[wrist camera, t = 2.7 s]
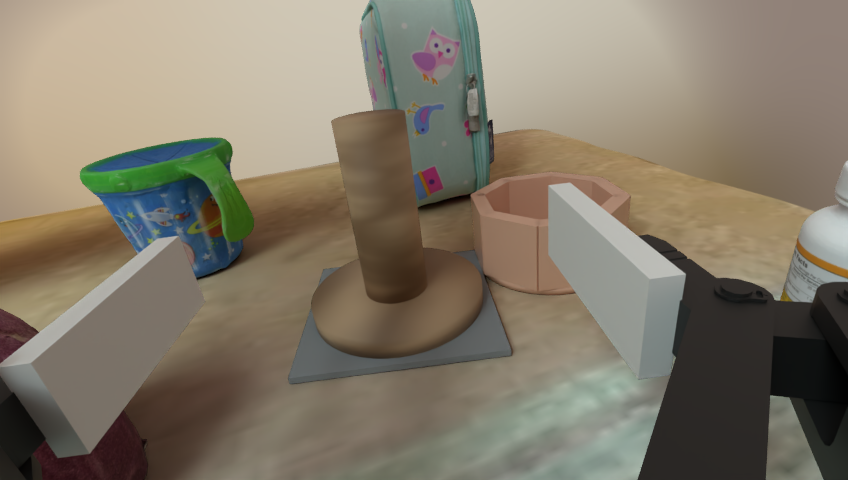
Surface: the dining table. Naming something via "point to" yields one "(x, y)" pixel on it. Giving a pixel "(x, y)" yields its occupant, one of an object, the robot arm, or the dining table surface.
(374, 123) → the paper towel holder
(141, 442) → the vegetable
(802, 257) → the supplement bottle
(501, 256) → the bowl
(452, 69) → the lunch box
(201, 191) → the snack cup
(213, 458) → the dining table surface
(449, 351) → the mat
